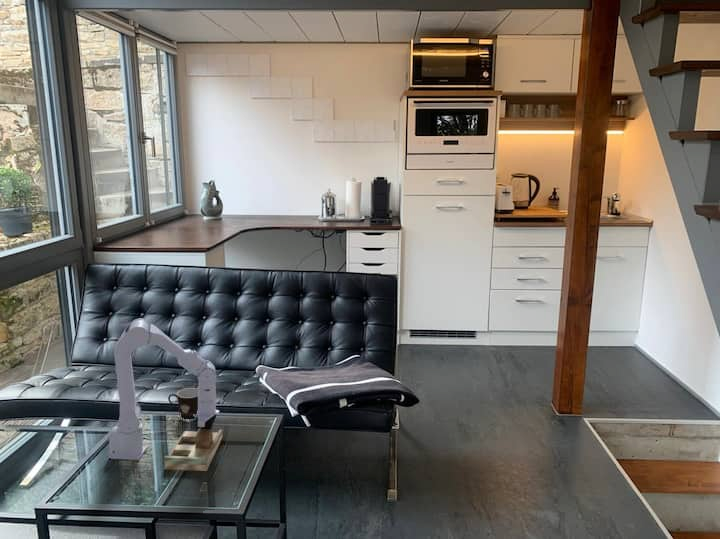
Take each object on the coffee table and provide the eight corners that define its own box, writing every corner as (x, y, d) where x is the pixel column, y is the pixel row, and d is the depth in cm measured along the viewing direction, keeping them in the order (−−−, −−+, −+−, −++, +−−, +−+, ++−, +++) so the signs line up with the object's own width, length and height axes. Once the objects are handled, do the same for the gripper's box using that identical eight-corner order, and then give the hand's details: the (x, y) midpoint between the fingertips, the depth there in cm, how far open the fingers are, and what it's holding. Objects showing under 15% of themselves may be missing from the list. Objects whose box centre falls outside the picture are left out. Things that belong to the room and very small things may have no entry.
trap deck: (164, 469, 167) (164, 457, 166) (184, 436, 187) (184, 425, 186) (206, 470, 167) (206, 459, 167) (222, 438, 187) (222, 427, 186)
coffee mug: (206, 417, 201) (206, 392, 199) (188, 426, 194) (187, 400, 192) (185, 408, 207) (185, 383, 205) (166, 416, 200) (166, 391, 198)
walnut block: (195, 448, 176) (195, 435, 175) (199, 441, 180) (199, 428, 179) (209, 448, 176) (209, 436, 175) (212, 441, 181) (212, 429, 180)
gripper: (213, 409, 172) (213, 448, 175) (224, 389, 186) (224, 426, 189) (191, 408, 172) (191, 447, 175) (203, 389, 186) (203, 425, 189)
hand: (207, 436), depth 182 cm, fingers closed
